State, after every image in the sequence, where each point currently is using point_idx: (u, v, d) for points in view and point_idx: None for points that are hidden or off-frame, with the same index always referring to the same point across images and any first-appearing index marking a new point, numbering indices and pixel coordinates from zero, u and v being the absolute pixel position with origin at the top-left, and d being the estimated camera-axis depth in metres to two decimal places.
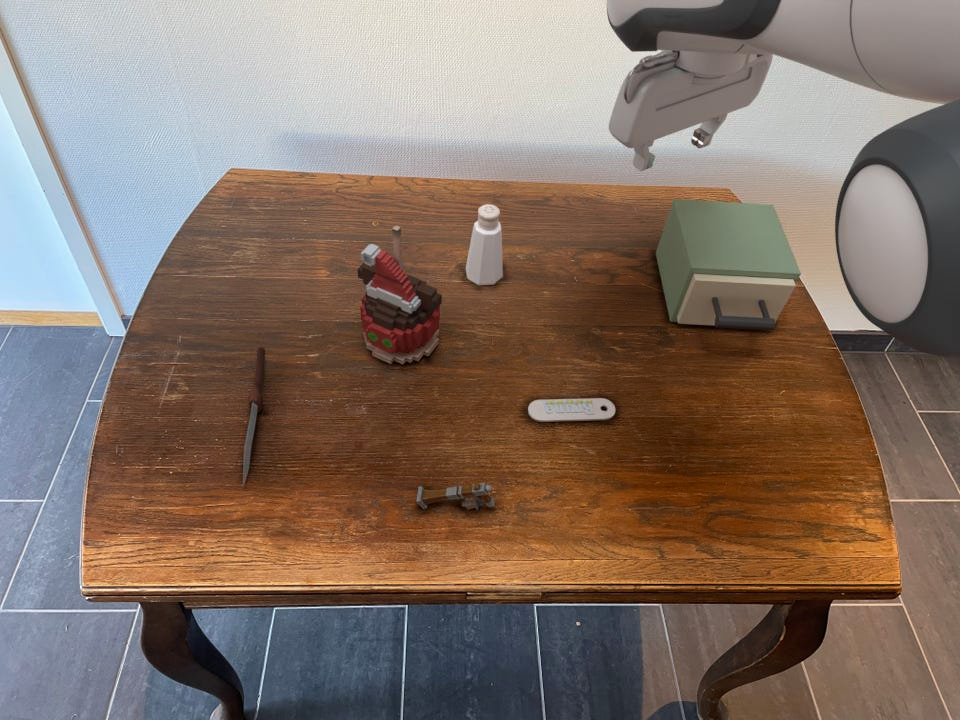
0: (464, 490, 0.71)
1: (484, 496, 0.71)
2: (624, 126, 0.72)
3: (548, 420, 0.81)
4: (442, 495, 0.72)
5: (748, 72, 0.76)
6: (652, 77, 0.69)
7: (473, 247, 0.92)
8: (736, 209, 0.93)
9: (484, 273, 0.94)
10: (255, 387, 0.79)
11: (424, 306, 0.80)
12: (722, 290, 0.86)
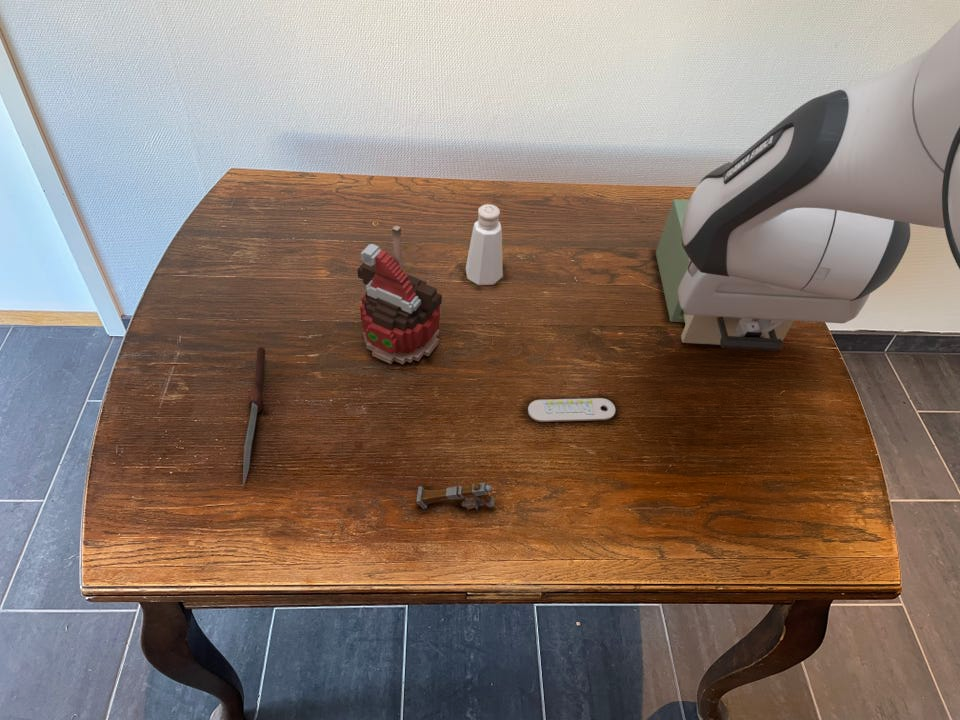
0: (464, 490, 0.71)
1: (484, 496, 0.71)
2: (684, 294, 0.78)
3: (548, 420, 0.81)
4: (442, 495, 0.72)
5: None
6: None
7: (473, 247, 0.92)
8: None
9: (484, 273, 0.94)
10: (255, 387, 0.79)
11: (424, 306, 0.80)
12: None
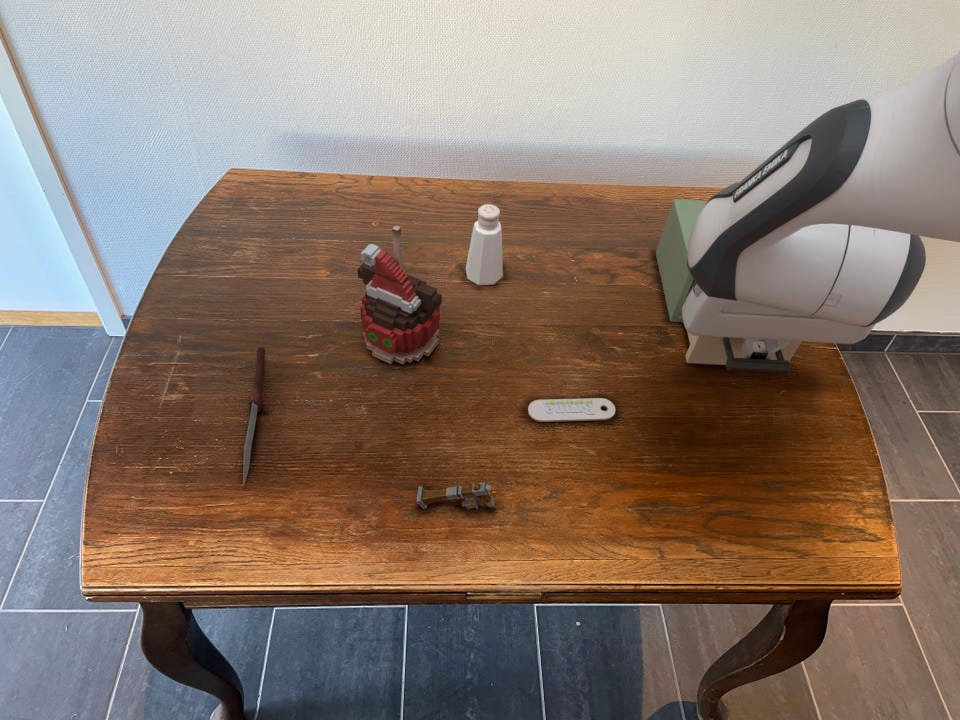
0: (464, 490, 0.71)
1: (484, 496, 0.71)
2: (688, 314, 0.76)
3: (548, 420, 0.81)
4: (442, 495, 0.72)
5: None
6: None
7: (473, 247, 0.92)
8: None
9: (484, 273, 0.94)
10: (255, 387, 0.79)
11: (424, 306, 0.80)
12: None
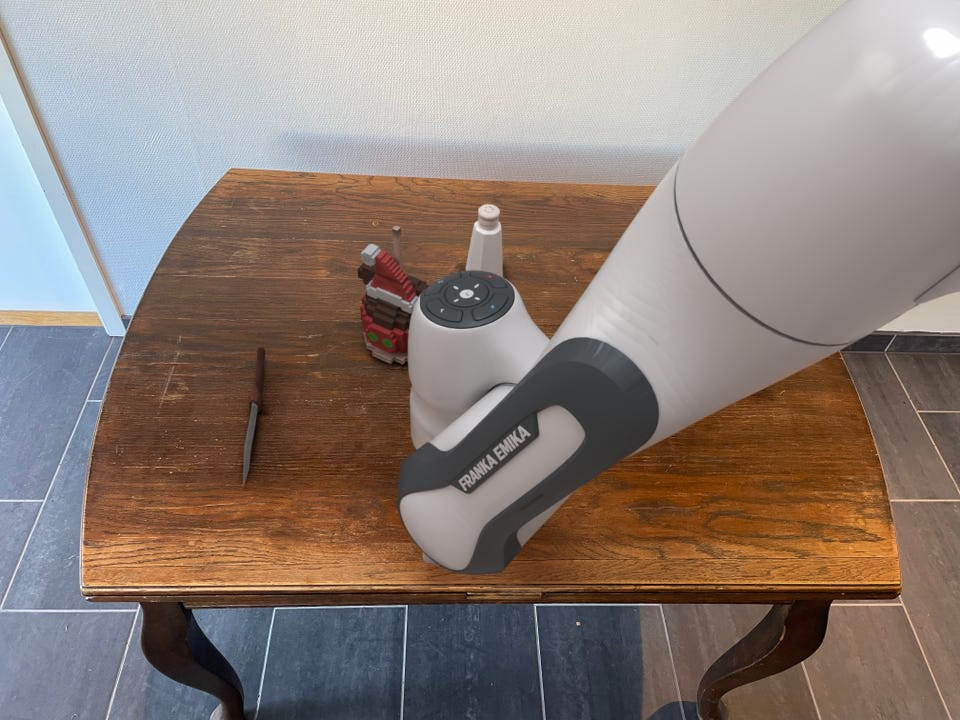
0: None
1: None
2: None
3: None
4: None
5: None
6: None
7: (473, 247, 0.92)
8: None
9: None
10: (255, 387, 0.79)
11: None
12: None
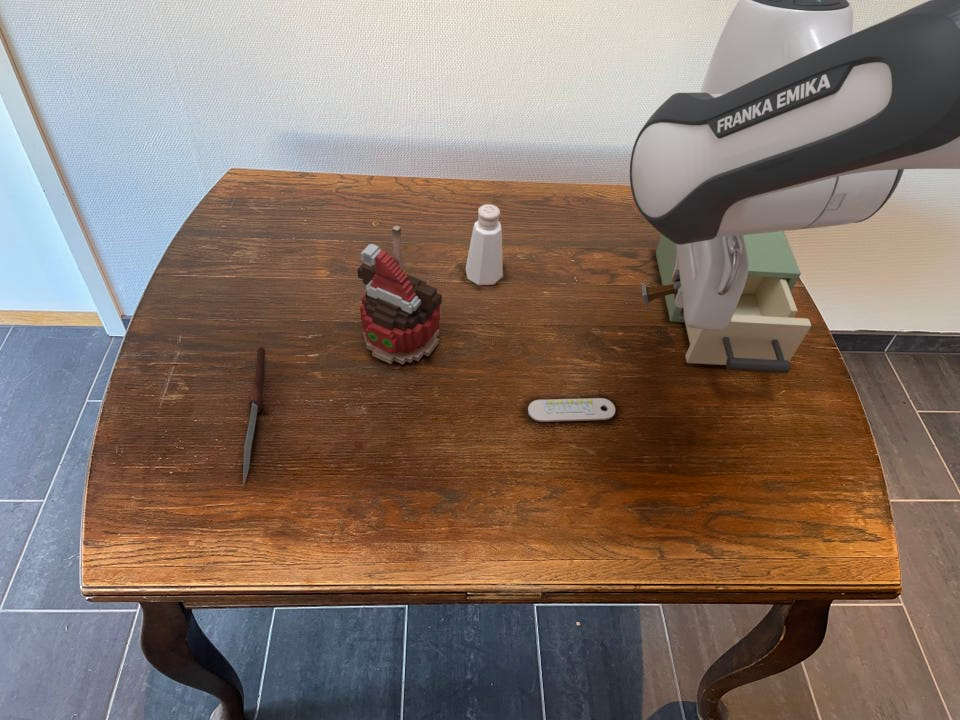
0: None
1: None
2: (720, 316, 0.59)
3: (548, 420, 0.81)
4: (669, 289, 0.71)
5: None
6: (738, 256, 0.57)
7: (473, 247, 0.92)
8: None
9: (484, 273, 0.94)
10: (255, 387, 0.79)
11: (424, 306, 0.80)
12: (734, 330, 0.82)
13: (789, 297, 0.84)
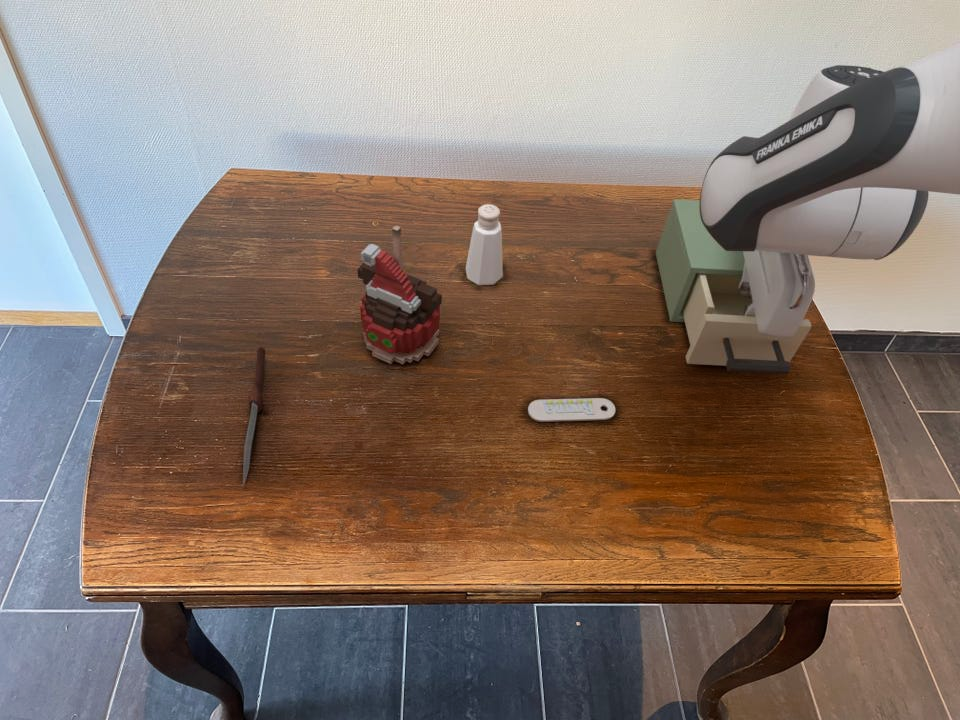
0: None
1: None
2: (789, 326, 0.73)
3: (548, 420, 0.81)
4: None
5: None
6: None
7: (473, 247, 0.92)
8: None
9: (484, 273, 0.94)
10: (255, 387, 0.79)
11: (424, 306, 0.80)
12: (734, 331, 0.82)
13: None
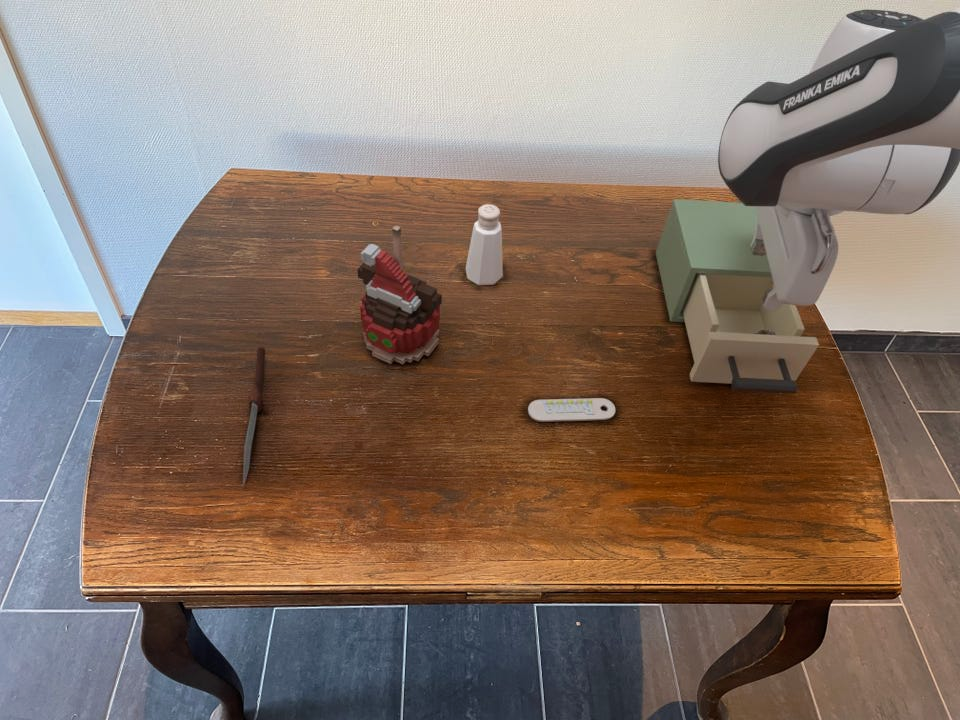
0: None
1: None
2: (811, 292, 0.69)
3: (548, 420, 0.81)
4: None
5: None
6: None
7: (473, 247, 0.92)
8: (736, 209, 0.93)
9: (484, 273, 0.94)
10: (255, 387, 0.79)
11: (424, 306, 0.80)
12: (739, 349, 0.80)
13: (796, 315, 0.83)
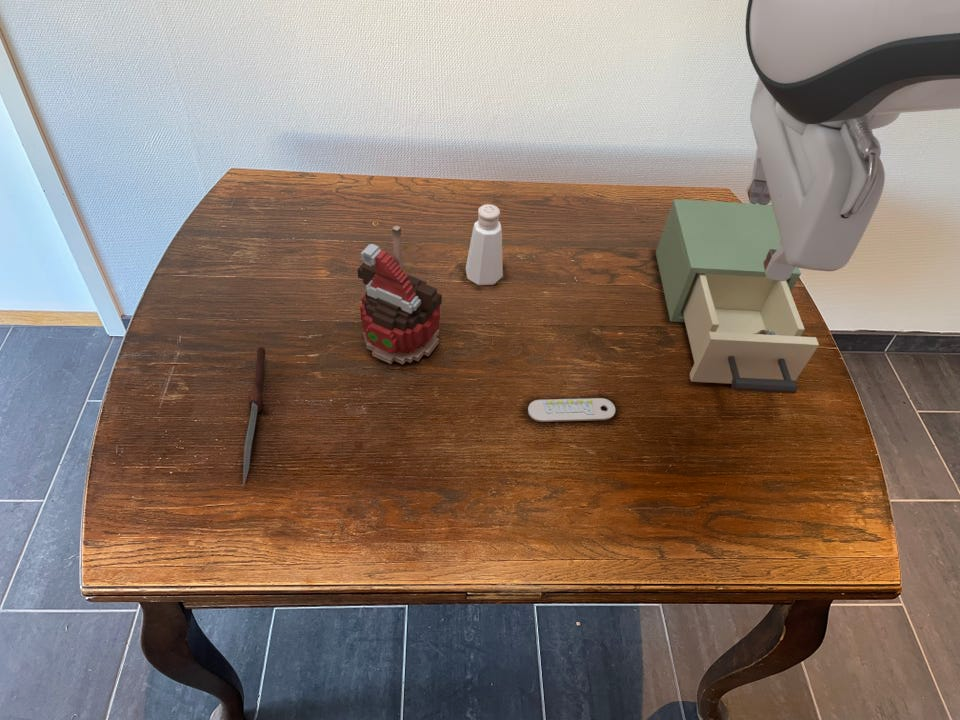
0: None
1: None
2: (839, 249, 0.44)
3: (548, 420, 0.81)
4: None
5: None
6: None
7: (473, 247, 0.92)
8: (736, 209, 0.93)
9: (484, 273, 0.94)
10: (255, 387, 0.79)
11: (424, 306, 0.80)
12: (739, 349, 0.80)
13: (796, 315, 0.83)
